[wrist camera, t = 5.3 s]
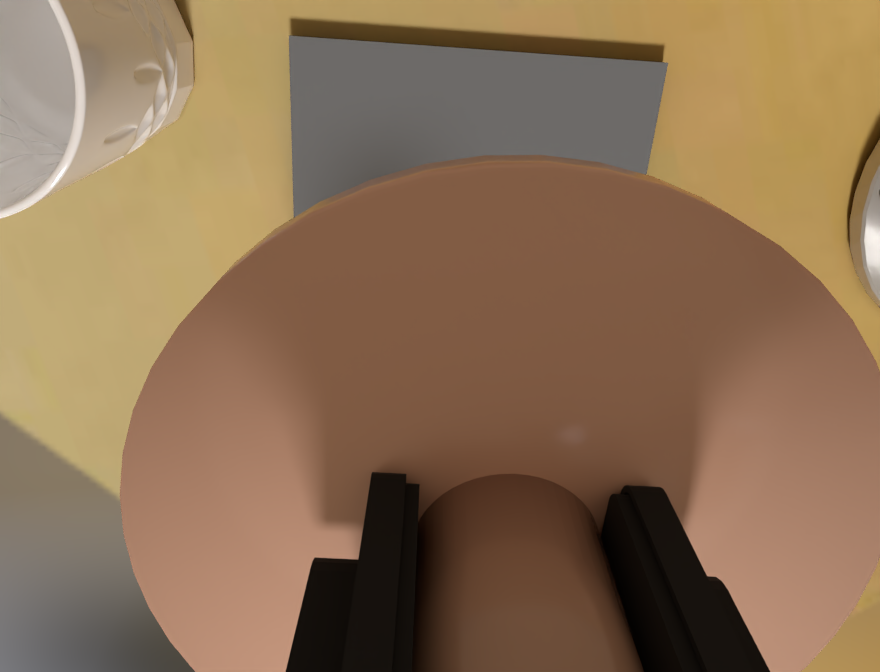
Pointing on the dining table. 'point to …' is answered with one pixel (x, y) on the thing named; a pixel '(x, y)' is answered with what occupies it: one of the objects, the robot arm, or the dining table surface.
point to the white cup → (84, 88)
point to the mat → (458, 109)
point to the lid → (506, 419)
